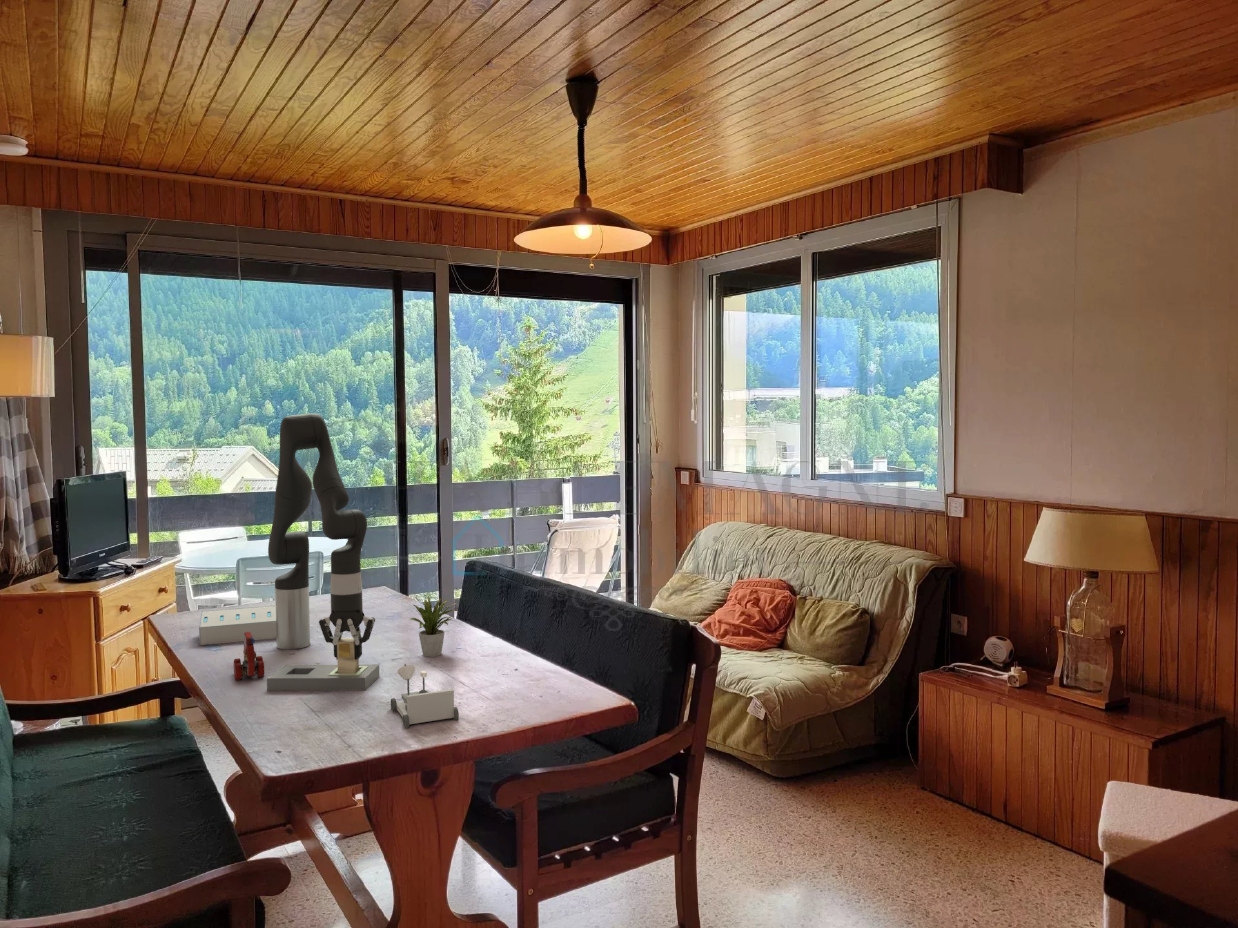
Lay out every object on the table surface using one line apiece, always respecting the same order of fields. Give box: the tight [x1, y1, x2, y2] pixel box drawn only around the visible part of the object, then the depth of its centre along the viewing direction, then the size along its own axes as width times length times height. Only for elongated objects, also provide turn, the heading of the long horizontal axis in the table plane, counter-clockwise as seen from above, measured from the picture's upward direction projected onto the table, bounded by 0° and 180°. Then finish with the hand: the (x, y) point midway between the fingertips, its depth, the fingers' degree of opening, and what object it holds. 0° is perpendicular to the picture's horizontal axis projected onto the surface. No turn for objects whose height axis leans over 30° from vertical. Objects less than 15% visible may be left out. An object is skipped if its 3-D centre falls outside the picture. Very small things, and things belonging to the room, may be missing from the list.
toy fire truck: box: [233, 632, 265, 681], centre depth 231 cm, size 7×12×10 cm, turn 26°
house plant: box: [408, 596, 459, 658], centre depth 249 cm, size 14×14×16 cm
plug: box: [336, 637, 360, 674], centre depth 223 cm, size 5×4×9 cm
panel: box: [266, 664, 380, 691], centre depth 224 cm, size 12×24×3 cm, turn 89°
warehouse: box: [198, 605, 276, 646], centre depth 275 cm, size 30×14×8 cm, turn 112°
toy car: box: [390, 663, 460, 729], centre depth 201 cm, size 18×10×12 cm
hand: (348, 658), depth 223 cm, fingers closed on plug, 4 cm apart
